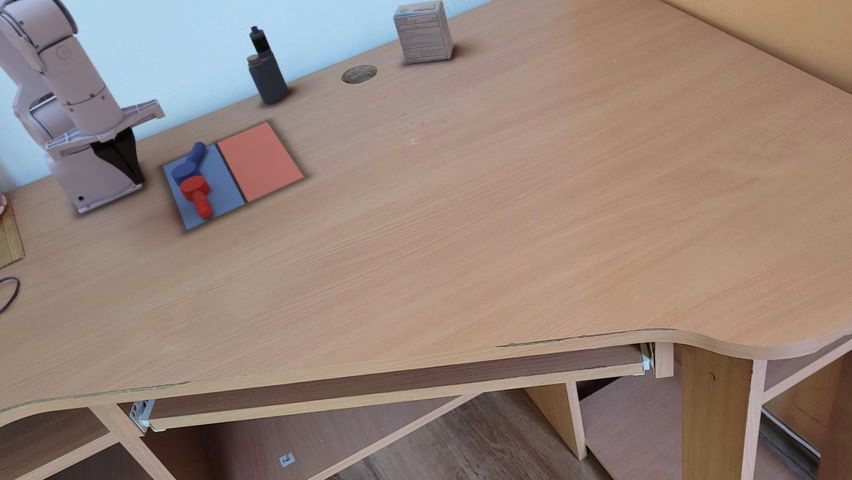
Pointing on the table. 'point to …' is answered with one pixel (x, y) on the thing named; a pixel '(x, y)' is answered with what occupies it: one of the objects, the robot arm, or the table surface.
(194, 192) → the red spoon
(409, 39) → the medicine box
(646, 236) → the table surface
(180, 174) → the blue spoon
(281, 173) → the sorting mat
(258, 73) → the vaping device
